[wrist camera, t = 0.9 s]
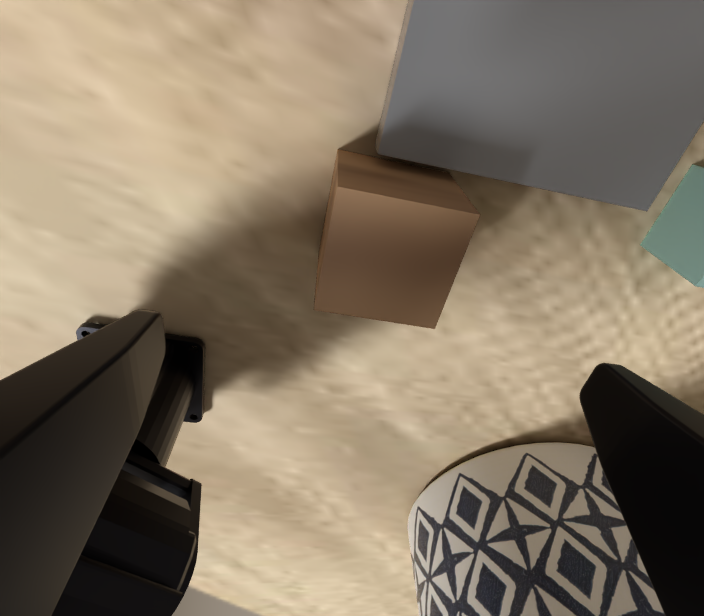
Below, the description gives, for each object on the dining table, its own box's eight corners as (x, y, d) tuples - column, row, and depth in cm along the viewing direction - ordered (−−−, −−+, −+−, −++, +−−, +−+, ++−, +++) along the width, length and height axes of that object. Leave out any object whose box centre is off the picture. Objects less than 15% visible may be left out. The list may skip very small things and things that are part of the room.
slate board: (627, 199, 19) (647, 211, 18) (374, 144, 18) (377, 154, 17) (848, -175, 13) (902, -196, 12) (480, -316, 11) (498, -358, 10)
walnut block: (416, 269, 21) (434, 329, 17) (318, 252, 21) (313, 310, 17) (448, 172, 19) (480, 214, 15) (337, 148, 18) (337, 186, 14)
